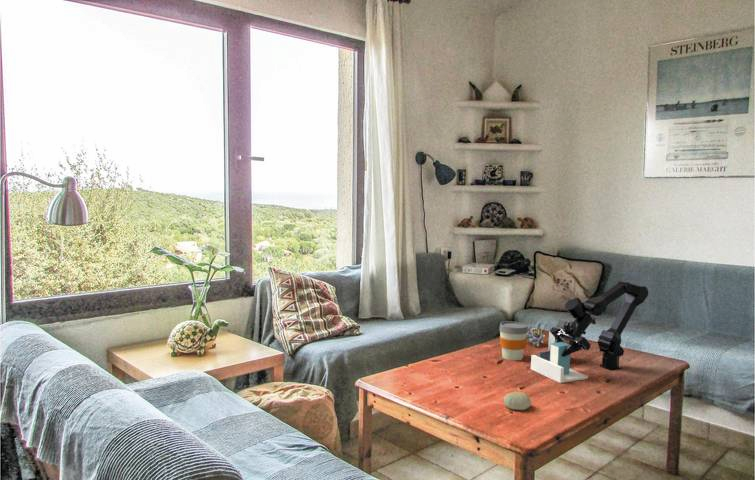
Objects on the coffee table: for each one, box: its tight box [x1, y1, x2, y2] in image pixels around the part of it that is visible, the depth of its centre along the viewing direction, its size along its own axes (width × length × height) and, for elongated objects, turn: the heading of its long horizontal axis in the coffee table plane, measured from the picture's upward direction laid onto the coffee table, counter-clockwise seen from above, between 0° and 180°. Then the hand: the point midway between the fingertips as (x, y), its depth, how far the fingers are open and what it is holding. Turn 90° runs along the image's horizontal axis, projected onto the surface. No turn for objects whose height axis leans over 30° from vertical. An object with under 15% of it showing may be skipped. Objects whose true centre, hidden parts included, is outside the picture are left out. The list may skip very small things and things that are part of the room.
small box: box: [547, 328, 572, 358], centre depth 253 cm, size 8×6×13 cm
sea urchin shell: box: [503, 391, 532, 411], centre depth 200 cm, size 9×8×8 cm
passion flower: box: [526, 323, 546, 348], centre depth 279 cm, size 11×11×12 cm
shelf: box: [530, 350, 589, 384], centre depth 235 cm, size 14×18×8 cm
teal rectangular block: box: [550, 342, 571, 375], centre depth 233 cm, size 6×5×12 cm
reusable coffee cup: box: [499, 321, 529, 361], centre depth 257 cm, size 13×13×15 cm
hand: (557, 354), depth 233 cm, fingers open, 6 cm apart
